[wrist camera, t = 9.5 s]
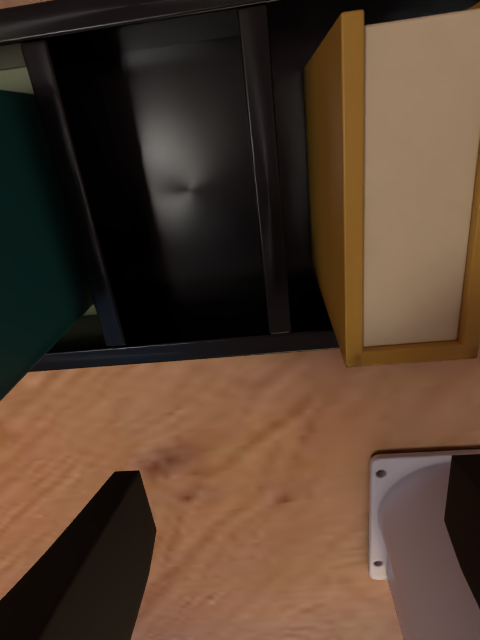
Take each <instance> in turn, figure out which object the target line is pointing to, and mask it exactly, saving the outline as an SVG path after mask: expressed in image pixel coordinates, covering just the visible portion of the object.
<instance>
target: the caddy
mask: <svg viewBox="0 0 480 640" xmlns="http://www.w3.org/2000/svg"><path fill="white" fill-rule="evenodd" d="M479 2H480V0H52V1H46V2H40V3H34V4H28V5H22V6H16V7H10V8H4V9H0V89H1V90H8V91H16V92H23V93H30V94H34V95H35V99H36V102H37V106H38V109H39V113H40V116H41V120H42V123H43V127H44V130H45V134H46V137H47V141H48V144H49V148H50V151H51V155H52V158H53V162H54V165H55V169H56V172H57V176H58V179H59V183H60V186H61V190H62V193H63V197H64V200H65V204H66V208H67V211H68V215H69V218H70V222H71V225H72V229H73V232H74V236H75V239H76V243H77V246H78V250H79V253H80V257H81V260H82V264H83V267H84V271H85V274H86V278H87V281H88V285H89V288H90V292H91V295H92V299H93V302H94V304H93V305H92V306H91V307H90V308H89V309H88V310H87V311H86V312H85V313H84V314H83V315H82V317H81V318H80V319H79V320H78V321H77V322H76V323H75V324H74V325H73V326H72V327H71V328H70V329H69V330H68V331H67V332H66V333H65V334H64V335H63V336H62V337H61V338H60V339H59V340H58V341H57V343H56V344H55V345H54V346H53V347H52V348H51V349H50V350H49V351H48V352H47V353H46V354H45V355H44V356H43V357H42V358H41V359H40V360H39V361H38V362H37V363H36V364H35V365H34V366H33V367H32V369H31V370H30V371H29V372H35V371H48V370H61V369H75V368H88V367H101V366H114V365H128V364H141V363H154V362H168V361H181V360H194V359H208V358H221V357H234V356H248V355H261V354H274V353H288V352H301V351H314V350H327V349H340V348H339V345H338V342H337V339H336V336H335V333H334V330H333V327H332V324H331V321H330V318H329V315H328V312H327V309H326V306H325V303H324V300H323V297H322V294H321V291H320V288H319V285H318V282H317V279H316V276H315V273H314V270H313V267H312V256H311V235H310V214H309V193H308V172H307V151H306V130H305V109H304V88H303V69H304V68H305V66H306V65H307V63H308V62H309V60H310V59H311V57H312V56H313V54H314V53H315V51H316V50H317V48H318V47H319V45H320V44H321V42H322V41H323V39H324V38H325V37H326V35H327V34H328V32H329V31H330V29H331V28H332V26H333V25H334V23H335V22H336V20H337V19H338V17H339V16H340V14H341V13H343V12H347V11H354V10H360V9H362V10H364V26H365V25H370V24H377V23H383V22H390V21H397V20H403V19H410V18H417V17H423V16H430V15H437V14H443V13H450V12H457V11H463V10H467V9H468V8H470V7H472V6H474V5H475V4H477V3H479Z"/></svg>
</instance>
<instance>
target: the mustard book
mask: <svg viewBox="0 0 480 640" xmlns="http://www.w3.org/2000/svg"><path fill="white" fill-rule="evenodd" d="M303 88H304V109H305V130H306V151H307V172H308V193H309V214H310V235H311V256H312V267H313V270H314V273H315V276H316V279H317V282H318V285H319V288H320V291H321V294H322V297H323V300H324V303H325V306H326V309H327V312H328V315H329V318H330V321H331V324H332V327H333V330H334V333H335V336H336V339H337V342H338V345H339V348H340V351H341V354H342V357H343V360H344V363H345V365H346V367H357V366H371V365H385V364H399V363H413V362H428V361H442V360H456V359H470V358H477V357H478V349H479V342H480V2H479V3H477V4H475V5H474V6H472V7H470V8H468V9H467V10H463V11H457V12H450V13H443V14H437V15H430V16H423V17H417V18H410V19H403V20H397V21H390V22H383V23H377V24H370V25H365V26H364V10H362V9H360V10H354V11H347V12H343V13H341V14H340V16H339V17H338V19H337V20H336V22H335V23H334V25H333V26H332V28H331V29H330V31H329V32H328V34H327V35H326V37H325V38H324V39H323V41H322V42H321V44H320V45H319V47H318V48H317V50H316V51H315V53H314V54H313V56H312V57H311V59H310V60H309V62H308V63H307V65H306V66H305V68H304V69H303Z"/></svg>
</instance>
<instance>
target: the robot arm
mask: <svg viewBox="0 0 480 640" xmlns="http://www.w3.org/2000/svg"><path fill="white" fill-rule="evenodd" d="M379 470H383V471H381V472H377V471H379ZM155 536H156V527H155V523H154V520H153V516H152V513H151V509H150V506H149V502H148V499H147V496H146V492H145V489H144V485H143V482H142V478H141V475H140V471H139V470H138V471H118V472H114V473H113V474H112V476H111V477H110V478H109V479H108V480H107V481H106V482H105V484H104V485H103V486H102V487H101V488H100V490H99V491H98V492H97V493H96V494H95V495H94V497H93V498H92V499H91V500H90V501H89V503H88V504H87V505H86V506H85V507H84V509H83V510H82V511H81V512H80V513H79V514H78V516H77V517H76V518H75V519H74V520H73V522H72V523H71V524H70V525H69V526H68V527H67V528H66V530H65V531H64V532H63V533H62V534H61V535H60V536H59V538H58V539H57V540H56V541H55V542H54V543H53V544H52V546H51V547H50V548H49V549H48V550H47V551H46V552H45V554H44V555H43V556H42V557H41V558H40V559H39V560H38V561H37V562H36V563H35V564H34V565H33V567H32V568H31V569H30V570H29V571H28V572H27V573H26V574H25V575H24V576H23V577H22V578H21V579H20V580H19V581H18V582H17V584H16V585H15V586H14V587H13V588H12V589H11V590H10V591H9V592H8V593H7V594H6V595H5V596H4V597H3V598H2V599H1V600H0V640H131V636H132V633H133V629H134V626H135V622H136V619H137V615H138V612H139V608H140V605H141V601H142V598H143V594H144V591H145V587H146V583H147V580H148V576H149V571H150V565H151V560H152V554H153V548H154V542H155ZM368 572H369V575H370V577H371V578H373V579H377V580H381V579H388V583H389V587H390V591H391V594H392V598H393V602H394V606H395V609H396V613H397V617H398V620H399V624H400V628H401V632H402V635H403V639H404V640H480V449H473V450H452V451H432V452H412V453H392V454H378V455H375V456H373V457H372V458H371V459H370V468H369V534H368Z"/></svg>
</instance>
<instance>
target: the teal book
mask: <svg viewBox="0 0 480 640" xmlns="http://www.w3.org/2000/svg"><path fill="white" fill-rule="evenodd" d="M93 304H94V302H93V299H92V295H91V292H90V288H89V285H88V281H87V278H86V274H85V271H84V267H83V264H82V260H81V257H80V253H79V250H78V246H77V243H76V239H75V236H74V232H73V229H72V225H71V222H70V218H69V215H68V211H67V208H66V204H65V200H64V197H63V193H62V190H61V186H60V183H59V179H58V176H57V172H56V169H55V165H54V162H53V158H52V155H51V151H50V148H49V144H48V141H47V137H46V134H45V130H44V127H43V123H42V120H41V116H40V113H39V109H38V106H37V102H36V99H35V95H34V94H30V93H23V92H16V91H8V90H1V89H0V401H1V400H2V399H3V398H4V397H5V396H6V395H7V393H8V392H9V391H10V390H11V389H12V388H13V387H14V386H15V385H16V384H17V383H18V382H19V381H20V380H21V379H22V378H23V377H24V376H25V375H26V374H27V373H28V372H29V371H30V370H31V369H32V367H33V366H34V365H35V364H36V363H37V362H38V361H39V360H40V359H41V358H42V357H43V356H44V355H45V354H46V353H47V352H48V351H49V350H50V349H51V348H52V347H53V346H54V345H55V344H56V343H57V341H58V340H59V339H60V338H61V337H62V336H63V335H64V334H65V333H66V332H67V331H68V330H69V329H70V328H71V327H72V326H73V325H74V324H75V323H76V322H77V321H78V320H79V319H80V318H81V317H82V315H83V314H84V313H85V312H86V311H87V310H88V309H89V308H90V307H91V306H92V305H93Z"/></svg>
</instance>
